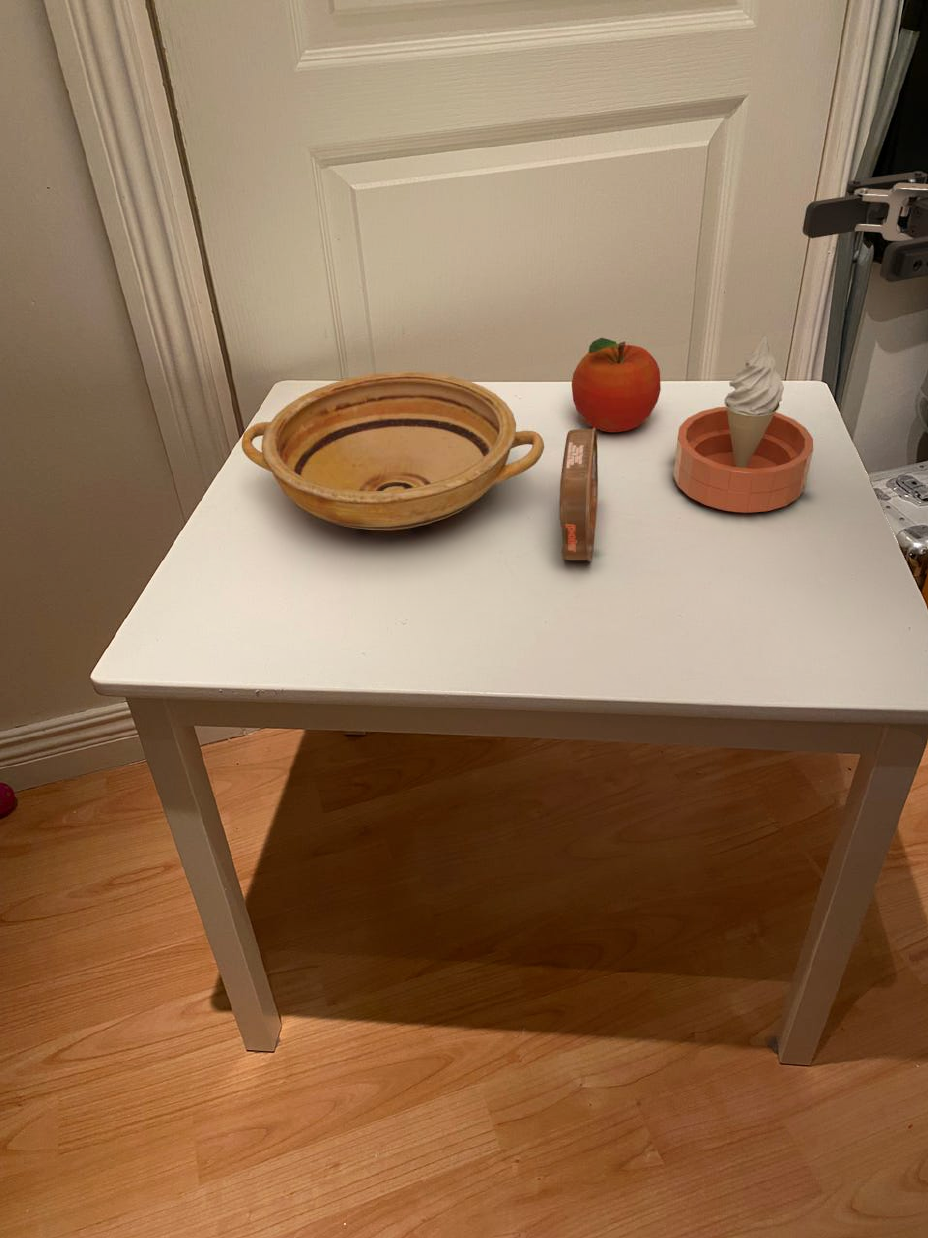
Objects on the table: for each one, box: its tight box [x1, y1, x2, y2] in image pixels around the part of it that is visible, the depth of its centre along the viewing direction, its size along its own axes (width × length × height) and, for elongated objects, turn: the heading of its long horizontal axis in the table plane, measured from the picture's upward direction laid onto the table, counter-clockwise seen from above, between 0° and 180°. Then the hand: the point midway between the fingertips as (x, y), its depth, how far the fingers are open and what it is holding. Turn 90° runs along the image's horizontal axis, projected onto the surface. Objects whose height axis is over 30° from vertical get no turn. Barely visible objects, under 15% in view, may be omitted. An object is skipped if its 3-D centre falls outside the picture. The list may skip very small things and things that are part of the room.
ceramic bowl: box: [241, 371, 545, 531], centre depth 91 cm, size 30×24×8 cm
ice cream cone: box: [723, 331, 785, 468], centre depth 88 cm, size 5×5×15 cm
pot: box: [672, 406, 814, 514], centre depth 92 cm, size 13×13×5 cm
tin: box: [558, 427, 599, 562], centre depth 86 cm, size 15×3×8 cm, turn 171°
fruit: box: [571, 337, 662, 433], centre depth 100 cm, size 10×10×10 cm
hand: (844, 241), depth 60 cm, fingers open, 8 cm apart
